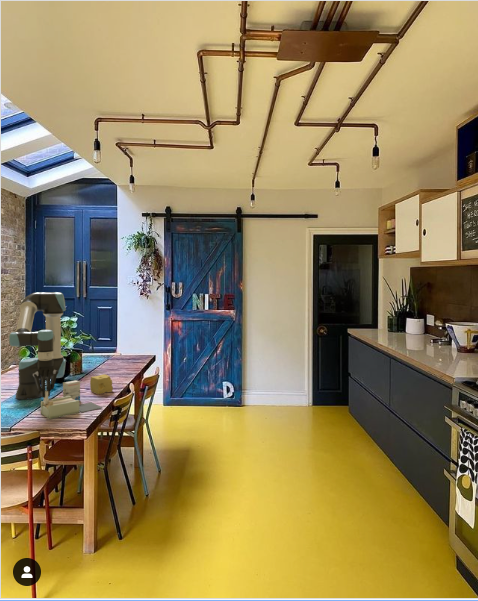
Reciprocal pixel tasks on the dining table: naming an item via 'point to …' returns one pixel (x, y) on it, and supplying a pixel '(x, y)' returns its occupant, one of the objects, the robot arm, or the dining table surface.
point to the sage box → (60, 408)
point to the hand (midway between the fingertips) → (45, 402)
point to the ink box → (72, 389)
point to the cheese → (101, 384)
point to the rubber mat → (88, 407)
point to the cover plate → (57, 402)
